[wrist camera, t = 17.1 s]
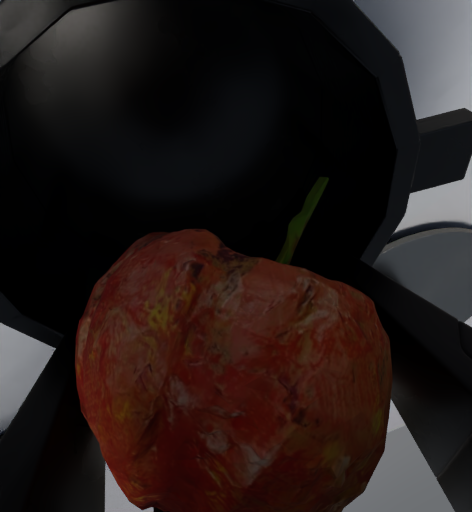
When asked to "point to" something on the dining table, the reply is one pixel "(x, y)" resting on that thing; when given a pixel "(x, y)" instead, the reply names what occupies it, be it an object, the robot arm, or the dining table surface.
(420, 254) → the lid
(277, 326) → the red apple
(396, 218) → the pan
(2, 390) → the dining table surface
